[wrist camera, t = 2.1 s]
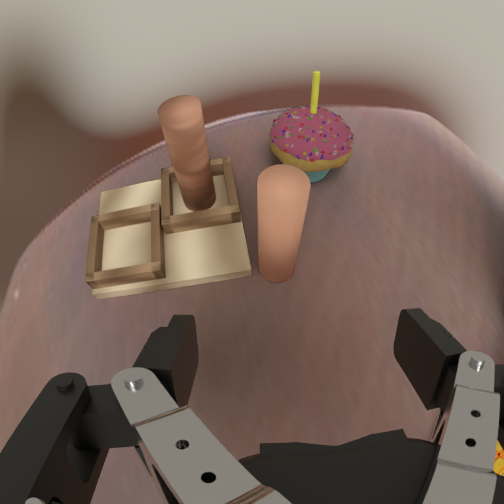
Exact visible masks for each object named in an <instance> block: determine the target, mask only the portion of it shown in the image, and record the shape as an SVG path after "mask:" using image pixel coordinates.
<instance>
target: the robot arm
mask: <svg viewBox="0 0 504 504" xmlns="http://www.w3.org/2000/svg"><path fill="white" fill-rule="evenodd" d="M394 355H395V358H396V360H397V362H398V363H399V365H400V366H401V368H402V370H403V371H404V373H405V374H406V376H407V378H408V379H409V381H410V382H411V384H412V386H413V387H414V389H415V391H416V392H417V394H418V396H419V397H420V399H421V401H422V402H423V404H424V406H425V407H426V409H427V410H430V409H434V408H438V407H440V409H441V410H440V412H439V414H438V417H437V420H436V423H435V426H434V429H433V432H432V435H431V438H430V441H426V440H421V439H413V438H407V437H406V435H405V433H404V431H403V429H399V430H394V431H389V432H383V433H377V434H371V435H368V436H365V437H363V438H360V439H357V440H354V441H351V442H348V443H345V444H342V445H339V446H328V445H317V444H308V443H300V442H292V443H260V454H256V455H252V456H248V457H245V458H242V459H240V460H236V459H235V458H234V457H233V455H232V454H231V453H230V452H229V451H228V450H227V449H226V448H225V447H224V446H223V445H222V444H221V443H220V442H219V441H218V439H217V438H216V437H215V436H214V435H213V434H212V433H211V432H210V431H209V429H208V428H207V427H206V426H205V425H204V424H203V423H202V422H201V420H200V419H199V418H198V417H197V416H196V415H195V413H194V412H193V411H192V410H191V409H190V408H189V407H188V406H187V404H188V400H189V396H190V393H191V389H192V385H193V381H194V378H195V374H196V370H197V366H198V344H197V335H196V325H195V318H194V316H193V315H173V317H172V319H171V321H170V323H169V325H168V327H160V328H158V329H157V330H155V331H154V332H153V333H151V335H150V337H149V338H148V340H147V343H146V344H145V345H144V349H142V351H141V353H140V354H139V356H138V358H137V360H136V362H135V363H134V365H133V367H132V368H128V369H124V370H122V371H120V372H118V373H117V374H116V375H114V377H113V378H112V380H111V384H106V385H95V386H87V383H86V380H85V378H84V377H83V376H82V375H80V374H77V373H63V374H60V375H57V376H55V377H53V378H52V379H51V380H50V381H49V382H48V383H47V384H46V386H45V387H44V389H43V390H42V391H41V393H40V394H39V396H38V397H37V398H36V400H35V401H34V403H33V404H32V406H31V407H30V409H29V410H28V411H27V413H26V414H25V416H24V417H23V419H22V420H21V422H20V423H19V425H18V426H17V428H16V429H15V431H14V433H13V434H12V436H11V437H10V439H9V440H8V442H7V443H6V445H5V447H4V448H3V450H2V451H1V453H0V504H90V503H91V500H92V497H93V494H94V491H95V488H96V485H97V482H98V479H99V476H100V473H101V470H102V467H103V465H104V462H105V459H106V456H107V453H108V451H109V448H118V447H130V446H133V448H134V450H135V451H136V453H137V455H138V457H139V459H140V460H141V462H142V464H143V466H144V467H145V469H146V471H147V473H148V474H149V476H150V478H151V479H152V481H153V482H154V484H155V486H156V488H157V489H158V491H159V493H160V495H161V497H162V498H163V500H164V502H165V503H166V504H504V476H501V475H499V474H497V473H495V472H494V470H493V469H494V461H495V454H496V446H497V440H498V442H499V444H500V445H501V447H502V449H503V450H504V365H495V364H494V361H493V360H492V358H491V357H489V356H488V355H487V354H484V353H482V352H479V351H467V350H466V349H465V348H464V347H463V346H462V345H461V344H460V343H459V342H458V341H457V340H456V339H455V338H454V337H452V335H451V334H450V333H449V332H447V330H446V329H445V328H444V327H443V326H442V325H441V324H440V323H438V322H436V321H434V320H432V319H430V318H429V317H428V316H427V315H426V314H425V313H424V312H423V311H422V310H421V309H420V308H415V309H403V310H402V311H401V312H400V315H399V321H398V326H397V331H396V336H395V341H394Z"/></svg>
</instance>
